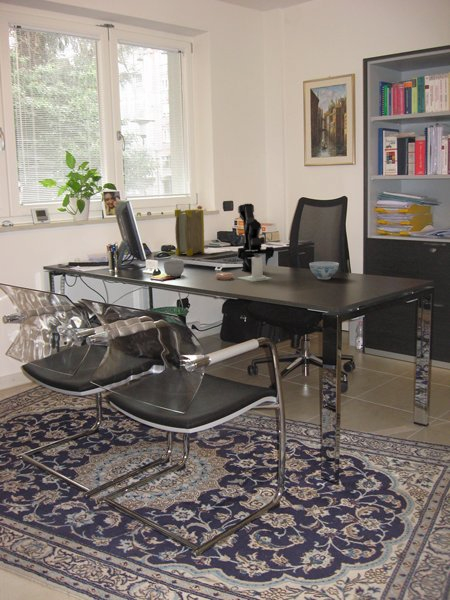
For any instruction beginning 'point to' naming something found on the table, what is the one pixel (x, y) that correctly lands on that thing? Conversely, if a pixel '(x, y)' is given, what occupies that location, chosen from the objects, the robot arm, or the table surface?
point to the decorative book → (189, 231)
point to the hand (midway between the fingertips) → (257, 265)
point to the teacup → (174, 267)
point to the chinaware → (324, 269)
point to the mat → (252, 279)
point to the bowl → (224, 276)
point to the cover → (257, 268)
